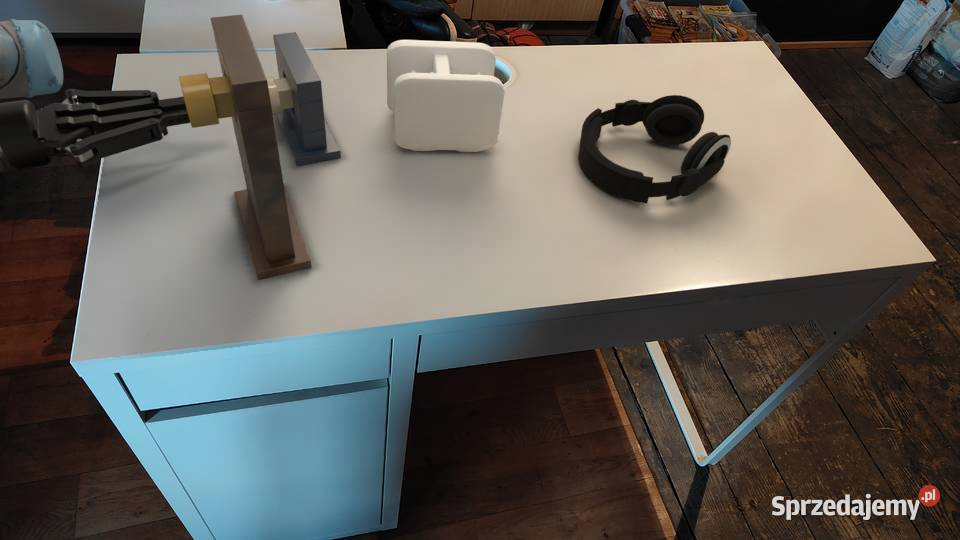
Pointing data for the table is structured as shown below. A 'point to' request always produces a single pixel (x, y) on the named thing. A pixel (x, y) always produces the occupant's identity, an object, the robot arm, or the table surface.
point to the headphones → (664, 124)
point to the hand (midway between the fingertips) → (218, 104)
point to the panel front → (258, 156)
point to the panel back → (303, 105)
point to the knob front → (206, 99)
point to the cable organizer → (443, 95)
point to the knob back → (280, 94)
